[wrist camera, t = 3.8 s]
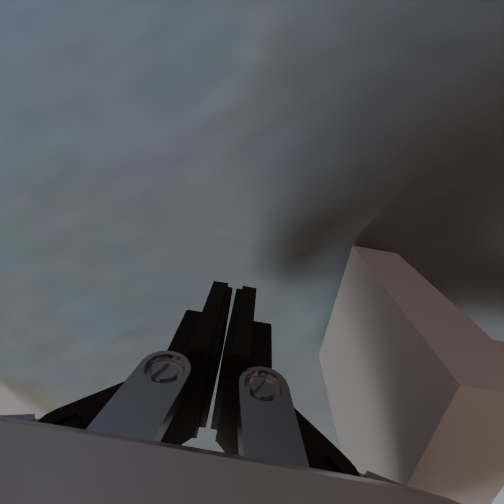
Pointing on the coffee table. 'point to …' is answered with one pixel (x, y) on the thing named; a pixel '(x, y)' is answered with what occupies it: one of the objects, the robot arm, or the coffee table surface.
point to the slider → (413, 382)
